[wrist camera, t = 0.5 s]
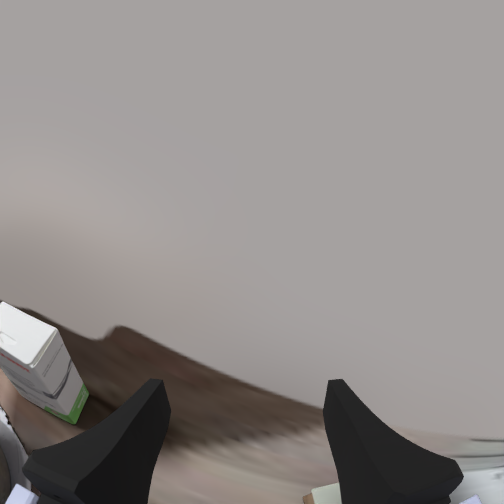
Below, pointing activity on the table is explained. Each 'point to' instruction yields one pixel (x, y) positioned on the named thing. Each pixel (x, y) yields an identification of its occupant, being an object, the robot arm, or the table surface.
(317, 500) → the lid
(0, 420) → the decorative urn
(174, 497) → the table surface
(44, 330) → the ink box
